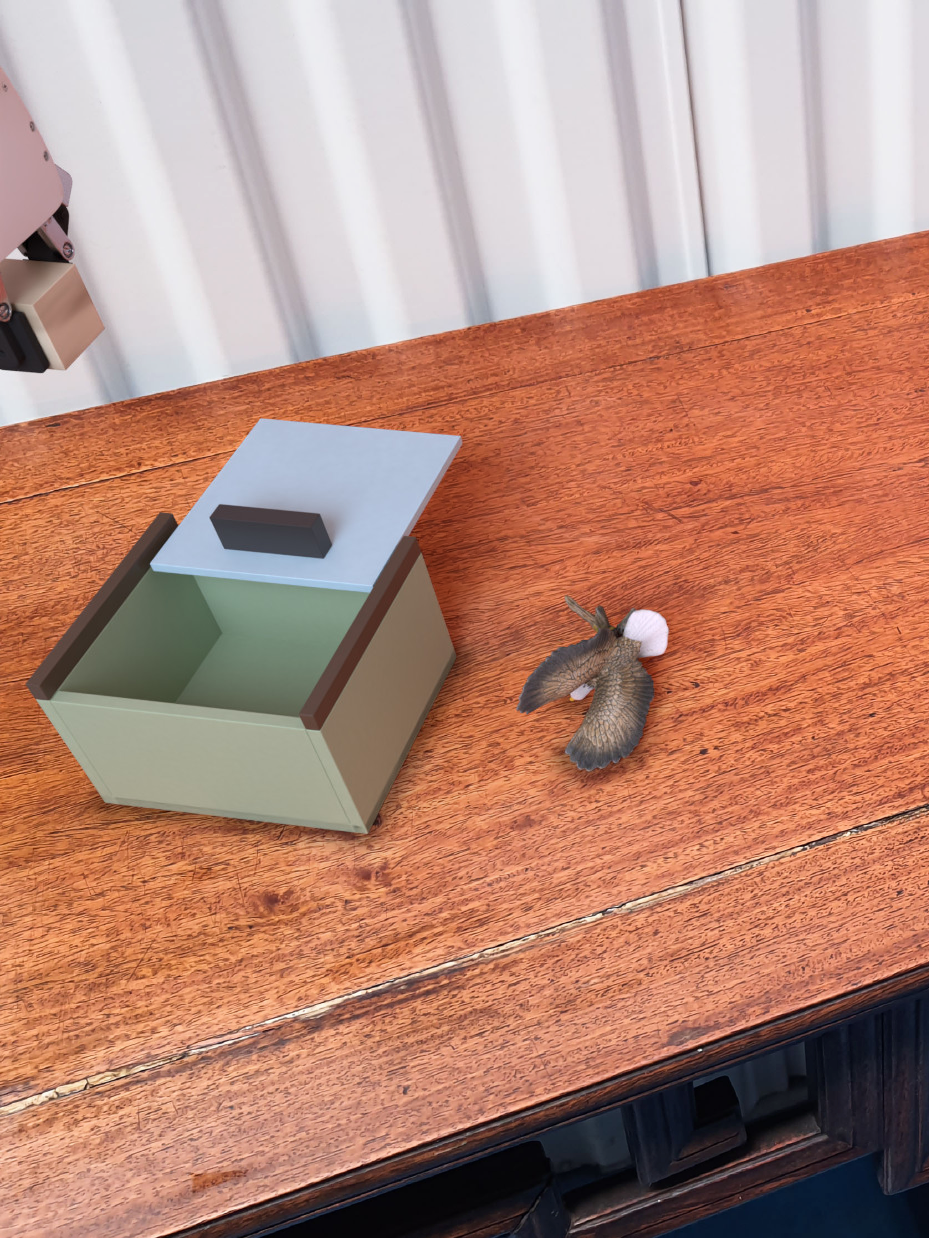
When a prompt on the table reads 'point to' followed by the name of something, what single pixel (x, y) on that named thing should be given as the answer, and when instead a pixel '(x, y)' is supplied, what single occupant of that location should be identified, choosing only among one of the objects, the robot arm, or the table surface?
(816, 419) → the table surface
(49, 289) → the block
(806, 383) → the table surface
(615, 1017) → the table surface
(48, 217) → the robot arm
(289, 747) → the case
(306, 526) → the light blue lid
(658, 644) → the eagle figurine
